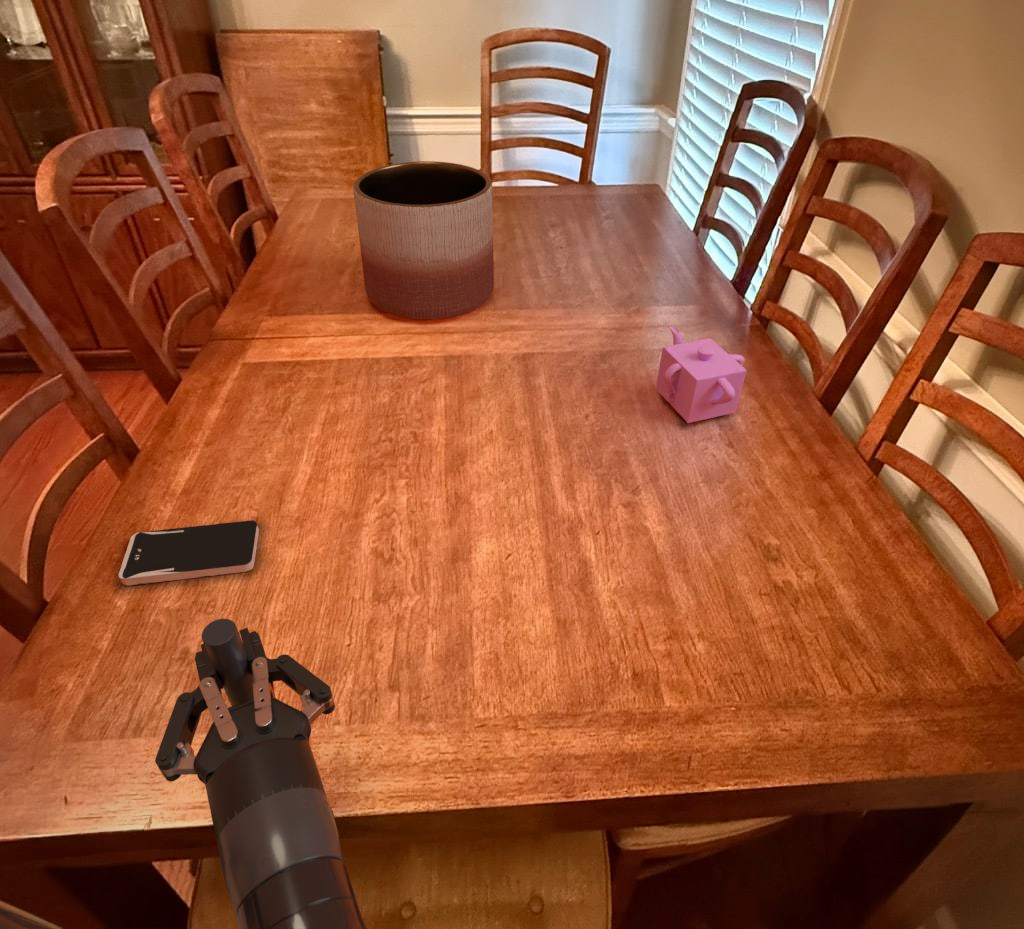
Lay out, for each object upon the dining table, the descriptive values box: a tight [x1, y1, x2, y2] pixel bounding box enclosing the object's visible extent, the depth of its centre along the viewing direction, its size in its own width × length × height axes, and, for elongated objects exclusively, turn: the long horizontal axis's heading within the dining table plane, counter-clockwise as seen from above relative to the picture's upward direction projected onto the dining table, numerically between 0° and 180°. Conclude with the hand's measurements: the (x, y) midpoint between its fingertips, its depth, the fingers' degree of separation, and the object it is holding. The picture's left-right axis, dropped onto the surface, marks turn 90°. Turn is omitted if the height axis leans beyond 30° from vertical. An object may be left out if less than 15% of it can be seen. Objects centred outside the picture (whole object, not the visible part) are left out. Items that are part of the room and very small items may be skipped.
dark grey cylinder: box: [201, 618, 254, 707], centre depth 58 cm, size 3×3×12 cm
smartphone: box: [118, 520, 260, 587], centre depth 85 cm, size 8×1×15 cm
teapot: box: [655, 326, 748, 424], centre depth 108 cm, size 18×14×10 cm
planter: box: [352, 160, 495, 321], centre depth 132 cm, size 25×25×22 cm
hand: (226, 642), depth 60 cm, fingers closed on dark grey cylinder, 2 cm apart
